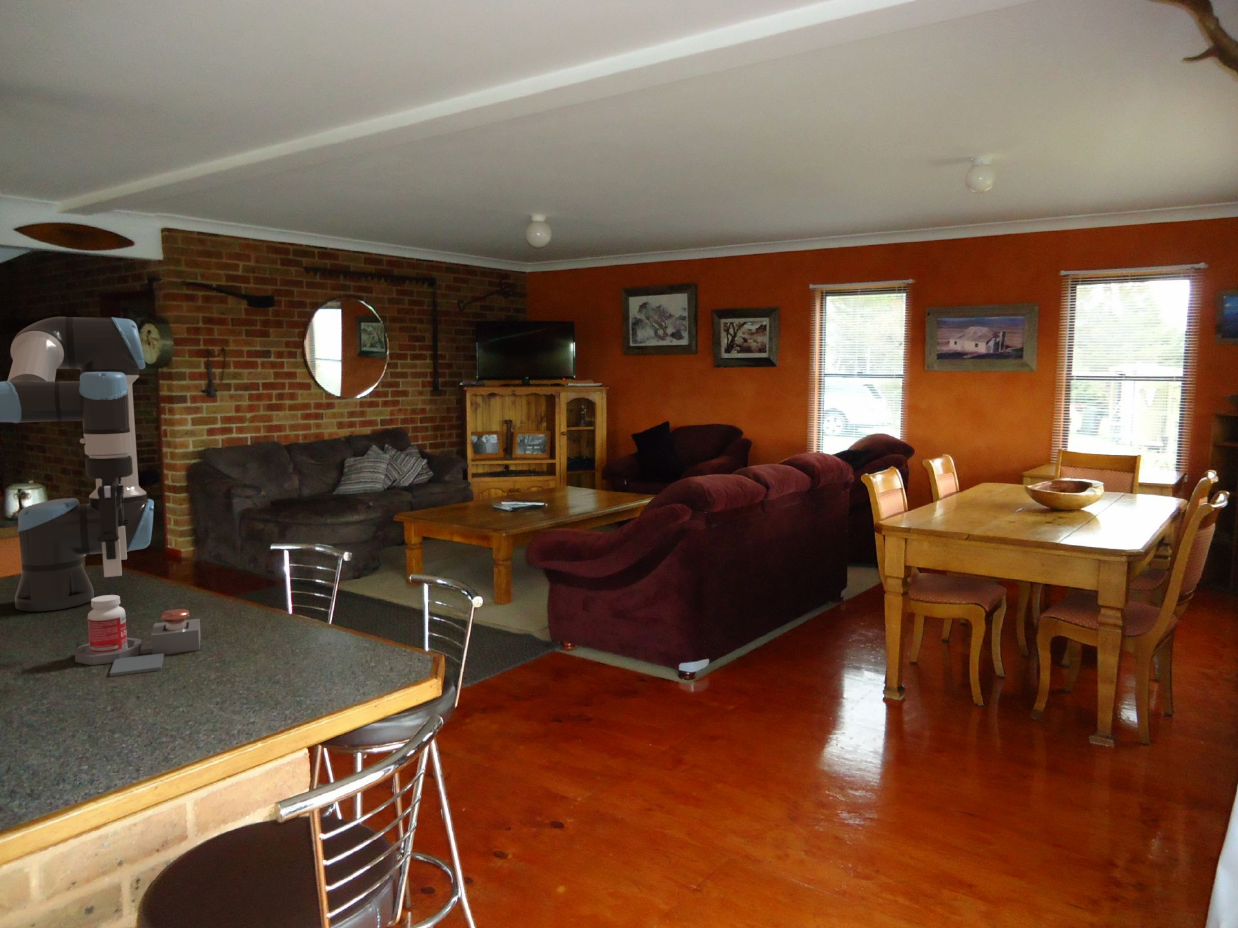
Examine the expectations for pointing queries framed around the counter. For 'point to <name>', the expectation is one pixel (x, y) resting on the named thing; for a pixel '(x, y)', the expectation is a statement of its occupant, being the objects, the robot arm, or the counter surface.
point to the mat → (137, 664)
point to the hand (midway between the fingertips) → (116, 567)
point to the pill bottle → (107, 625)
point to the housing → (149, 644)
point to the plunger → (175, 619)
